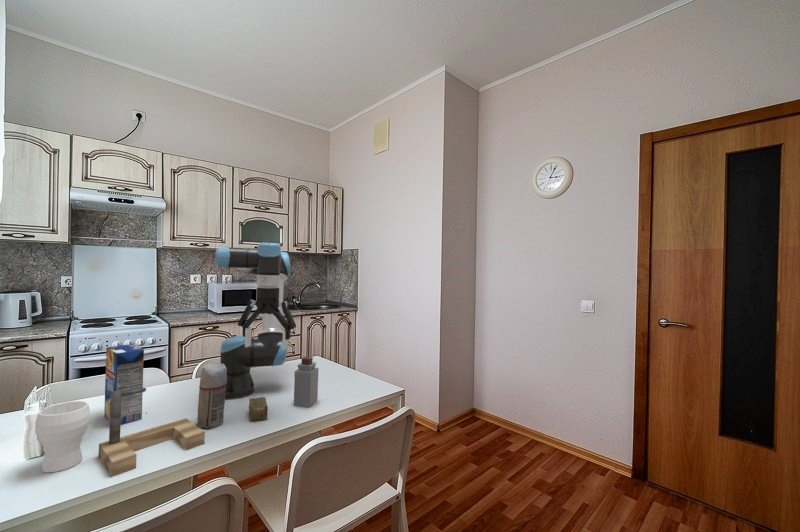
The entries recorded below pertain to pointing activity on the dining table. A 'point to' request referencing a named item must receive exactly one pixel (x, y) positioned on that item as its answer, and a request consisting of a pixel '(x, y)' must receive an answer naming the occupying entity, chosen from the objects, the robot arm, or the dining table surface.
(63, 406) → the cup
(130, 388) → the juice carton
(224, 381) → the spray can
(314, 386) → the perfume bottle
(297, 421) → the dining table surface
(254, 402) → the stone block
